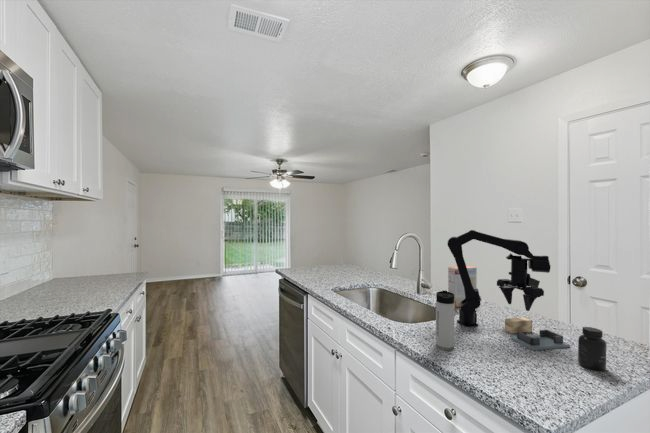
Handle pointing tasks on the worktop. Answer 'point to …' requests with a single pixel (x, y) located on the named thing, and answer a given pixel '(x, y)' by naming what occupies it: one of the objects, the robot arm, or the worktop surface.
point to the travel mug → (445, 320)
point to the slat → (518, 325)
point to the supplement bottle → (592, 349)
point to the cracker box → (460, 283)
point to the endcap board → (540, 340)
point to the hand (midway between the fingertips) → (518, 307)
